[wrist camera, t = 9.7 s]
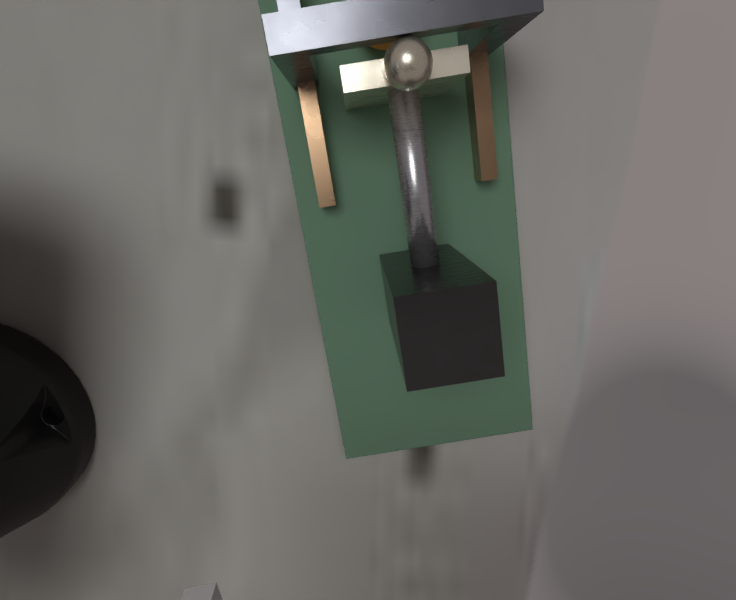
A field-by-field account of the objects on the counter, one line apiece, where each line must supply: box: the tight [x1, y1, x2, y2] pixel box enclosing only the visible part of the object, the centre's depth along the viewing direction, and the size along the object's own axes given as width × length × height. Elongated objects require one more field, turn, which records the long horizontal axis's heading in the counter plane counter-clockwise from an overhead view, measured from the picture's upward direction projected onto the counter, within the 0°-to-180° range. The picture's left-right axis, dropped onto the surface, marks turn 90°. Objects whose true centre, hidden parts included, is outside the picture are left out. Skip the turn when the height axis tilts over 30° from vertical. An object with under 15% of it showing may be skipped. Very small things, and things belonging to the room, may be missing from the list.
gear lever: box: [339, 36, 505, 392], centre depth 26 cm, size 15×6×11 cm, turn 9°
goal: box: [262, 0, 544, 208], centre depth 25 cm, size 17×12×9 cm
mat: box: [258, 0, 532, 459], centre depth 32 cm, size 35×14×1 cm, turn 9°
